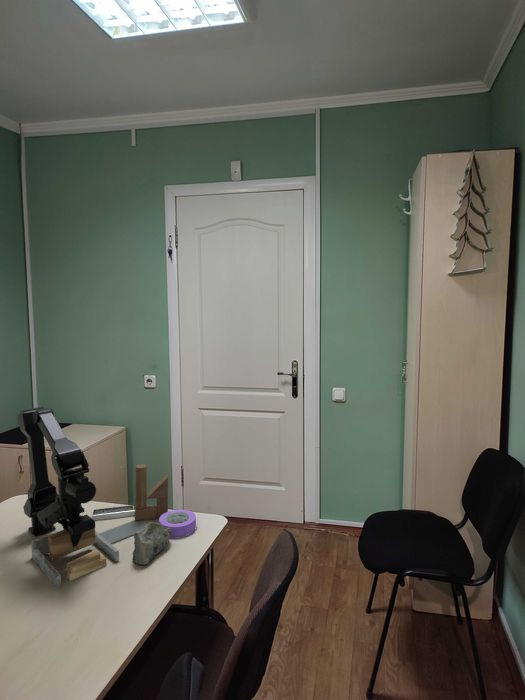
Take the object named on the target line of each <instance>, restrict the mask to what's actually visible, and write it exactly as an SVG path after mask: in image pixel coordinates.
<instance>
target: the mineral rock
mask: <svg viewBox="0 0 525 700" xmlns="http://www.w3.org/2000/svg"><path fill="white" fill-rule="evenodd" d="M170 534H171V528H166V527H165V526H164V525H163V524H160V523H159V522H155V521H154V522H153V521H148V523H147V524H146V526H144V527H143V528H141V529H140V530H139V531H137V532H135V534H134V535H133V539H134V542H133V545H134V549H133V551H132V561H133V562H136V564H138V565H147V564H149V563H150V561H151V560H152V559H154V557H155V555H157V554H158V553H159V552H160V551H162V550H163V549H165V548H166V547H167V545H168V543H169V540H170Z"/></svg>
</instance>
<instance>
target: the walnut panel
mask: <svg viewBox="0 0 525 700" xmlns="http://www.w3.org/2000/svg"><path fill="white" fill-rule="evenodd" d="M61 530H62V531H61ZM61 530H58V531H59V532H58V531H56V532H54V533H50V534H48V544H49V553H48V556H49V557H50V558H51V559H52V560H53V561H54V560H57V559H59V558H62V557H65V556H67V555H70V554H72V553H74V552H77V551H79V550H82V549H85V548H87V547H90V546H92V545H96V544H95V543H96V540H95V531H96V527H95V528H94V529H91V530H89V531H86V532H83V534H82V536H81V538H80V540H79V543H78V545H77V546H76V547H73V545H72V541H71V537H70V532H67V531H66V530H65V529H61Z"/></svg>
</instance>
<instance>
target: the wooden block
mask: <svg viewBox="0 0 525 700" xmlns="http://www.w3.org/2000/svg"><path fill="white" fill-rule="evenodd" d="M147 470H148V467H147V465H146V464H137V465H135V481H134V482H135V486H134V487H135V491H134V493H135V498H134V499H135V504H134V505H135V516H134V520H135V521H136V520H140V521H145V520H156V519H157V520H159V518H160V516H161V515H162V514H164V513H166V512H168V511H169V475H168V473H166V474H165V475H164V476H163V477H162V478H161V479H160V481H158V482H157V484H155V485H154V486H153V487H152V488H151V489H150V490H149V491H148V492H147V486H148V484H147V483H148V482H147V480H148V479H147V478H148V477H147V473H148V471H147ZM151 499H152V500H153V499H156V505H152V504H147V501H148V500H151Z"/></svg>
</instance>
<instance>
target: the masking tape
mask: <svg viewBox="0 0 525 700" xmlns="http://www.w3.org/2000/svg"><path fill="white" fill-rule="evenodd" d="M158 523H160V524H163V525H164V526H165V527H166V528H171V534H170V537H169V539H170V538H172V539H175V538H176V539H178V538H177V537H179V538H184V537H186V535H187V536H189V535H190V533H191V532H192V533H194V532H195V531H196V529H195V528H197V515H196V513H194V512H193V511H191V510H188V509H173V510H168V512H166V513H164V514H162V515H161V516H160V518H159V519H158ZM193 531H194V532H193ZM192 533H191V534H192ZM188 534H189V535H188ZM183 536H184V537H183Z"/></svg>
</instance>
